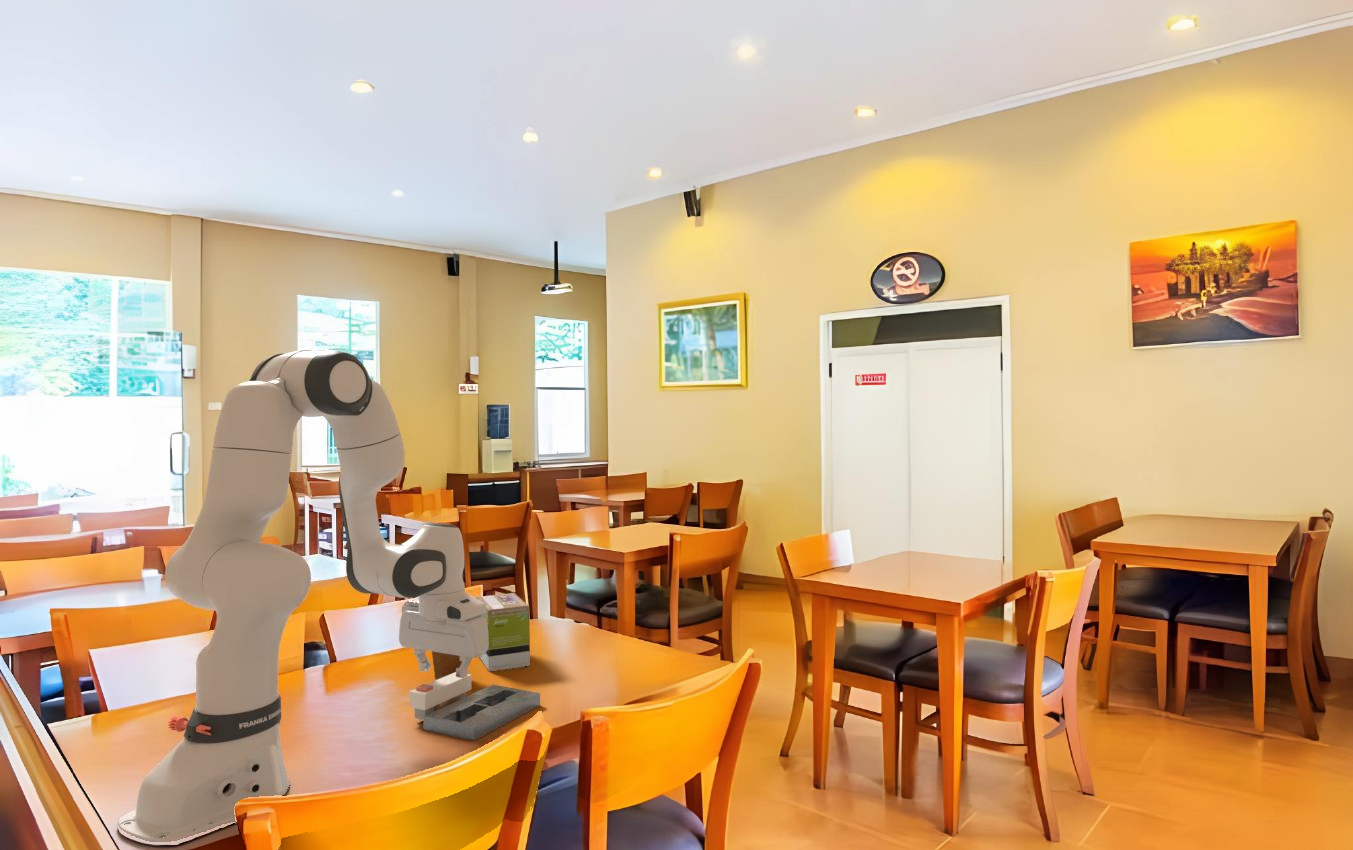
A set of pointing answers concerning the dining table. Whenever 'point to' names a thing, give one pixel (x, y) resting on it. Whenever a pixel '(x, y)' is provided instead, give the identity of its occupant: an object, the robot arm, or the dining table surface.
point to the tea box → (506, 632)
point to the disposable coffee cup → (445, 664)
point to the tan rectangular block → (447, 702)
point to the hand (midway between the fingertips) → (443, 673)
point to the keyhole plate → (481, 712)
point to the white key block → (437, 693)
